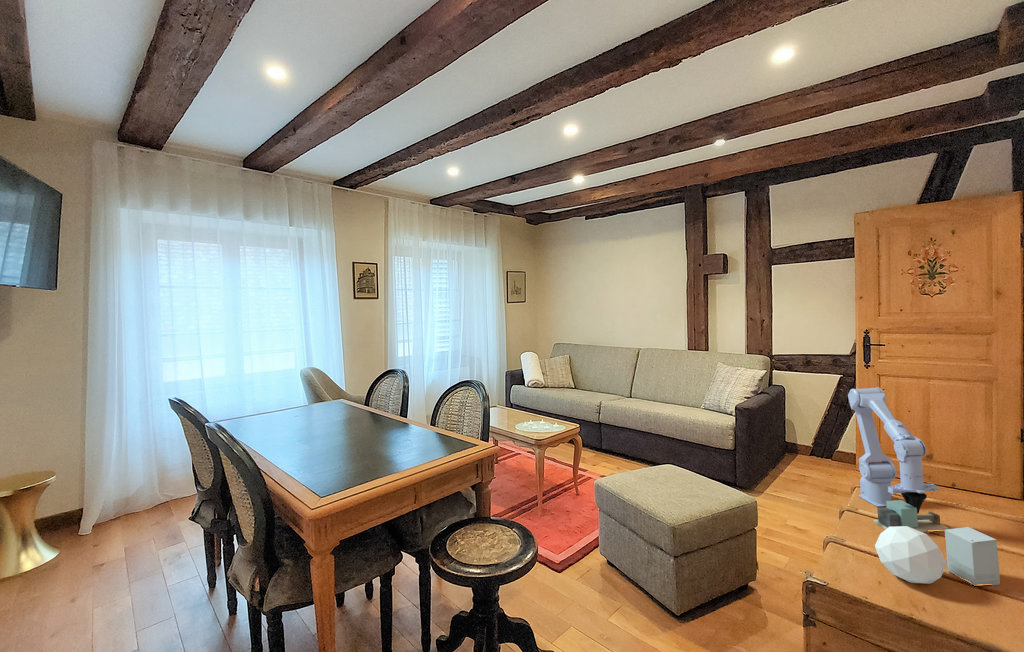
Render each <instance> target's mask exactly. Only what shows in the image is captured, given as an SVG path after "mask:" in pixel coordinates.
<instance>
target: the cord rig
mask: <svg viewBox="0 0 1024 652" xmlns="http://www.w3.org/2000/svg"><path fill="white" fill-rule="evenodd" d="M876 510H877V519H873V523H874V524H875V525H876V526H879V528H881V529H883V530H884V531H885V530H886V529H887V528H888V527H895V526H899V514H897V513H895V512H893V511H892V510H890V509H888V508H887V507H877V509H876ZM927 512H928V513H927V514H917V519H918V527H910V528H913V529H915V530H918V531H920V532H922V533H924V532H926V531H928V530H946V529H950V527H948V526H946V525H944V524H942V523H941V517H940V515H939V514H937V513H935V512H934V511H927Z"/></svg>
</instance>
